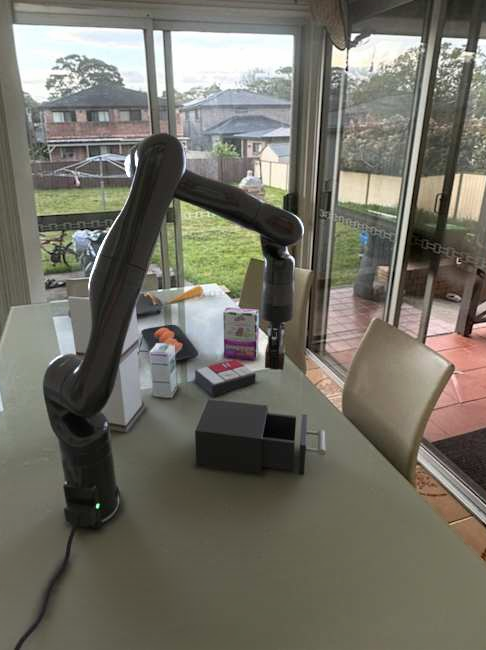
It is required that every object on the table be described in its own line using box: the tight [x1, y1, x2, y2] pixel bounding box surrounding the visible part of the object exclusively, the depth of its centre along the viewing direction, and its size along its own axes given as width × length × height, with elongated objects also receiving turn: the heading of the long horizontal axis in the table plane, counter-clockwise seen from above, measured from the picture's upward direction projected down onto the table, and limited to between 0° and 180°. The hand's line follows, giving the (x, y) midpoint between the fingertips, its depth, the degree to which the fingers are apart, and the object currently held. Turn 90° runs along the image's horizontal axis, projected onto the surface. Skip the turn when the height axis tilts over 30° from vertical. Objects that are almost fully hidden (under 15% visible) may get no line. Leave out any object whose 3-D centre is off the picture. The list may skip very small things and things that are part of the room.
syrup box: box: [148, 343, 178, 399], centre depth 125 cm, size 6×6×14 cm
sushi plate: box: [137, 324, 199, 362], centre depth 153 cm, size 29×30×4 cm
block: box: [264, 343, 286, 371], centre depth 108 cm, size 4×4×4 cm
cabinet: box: [194, 399, 269, 476], centre depth 102 cm, size 15×13×10 cm
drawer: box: [261, 412, 327, 476], centre depth 99 cm, size 18×11×8 cm, turn 78°
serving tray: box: [67, 291, 164, 319], centre depth 185 cm, size 39×23×6 cm, turn 118°
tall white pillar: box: [67, 295, 145, 433], centre depth 110 cm, size 11×11×35 cm
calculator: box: [194, 358, 257, 398], centre depth 132 cm, size 11×4×15 cm
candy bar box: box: [223, 307, 260, 361], centre depth 146 cm, size 11×5×16 cm, turn 76°
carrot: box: [166, 285, 204, 304], centre depth 202 cm, size 20×4×4 cm, turn 130°
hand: (274, 363), depth 109 cm, fingers closed on block, 4 cm apart
